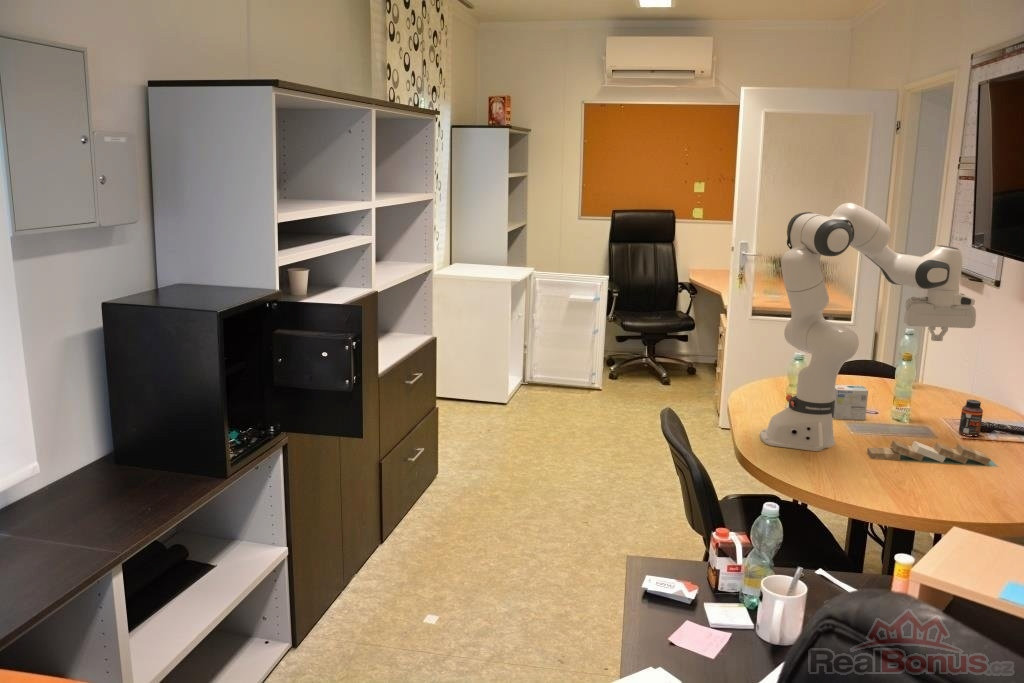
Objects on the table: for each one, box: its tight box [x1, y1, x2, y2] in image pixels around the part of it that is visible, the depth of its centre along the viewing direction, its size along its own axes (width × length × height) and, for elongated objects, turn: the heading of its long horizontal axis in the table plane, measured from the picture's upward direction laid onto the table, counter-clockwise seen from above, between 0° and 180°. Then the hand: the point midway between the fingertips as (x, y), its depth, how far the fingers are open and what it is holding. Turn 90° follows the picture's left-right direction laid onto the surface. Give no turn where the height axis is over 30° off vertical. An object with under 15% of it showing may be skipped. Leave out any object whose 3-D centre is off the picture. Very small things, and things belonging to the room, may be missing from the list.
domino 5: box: [954, 443, 992, 465], centre depth 237 cm, size 2×5×8 cm
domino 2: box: [889, 439, 924, 461], centre depth 240 cm, size 2×5×8 cm
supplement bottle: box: [958, 398, 984, 436], centre depth 261 cm, size 6×6×11 cm
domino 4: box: [932, 442, 968, 464], centre depth 238 cm, size 2×5×8 cm
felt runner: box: [898, 454, 999, 468], centre depth 239 cm, size 27×6×1 cm, turn 80°
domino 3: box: [911, 440, 946, 464], centre depth 239 cm, size 2×5×8 cm
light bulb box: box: [833, 384, 869, 421], centre depth 278 cm, size 11×7×11 cm, turn 84°
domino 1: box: [866, 447, 901, 461], centre depth 241 cm, size 2×5×8 cm
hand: (936, 340), depth 255 cm, fingers closed
